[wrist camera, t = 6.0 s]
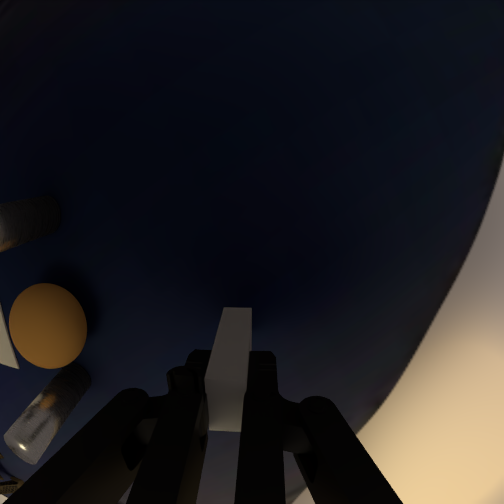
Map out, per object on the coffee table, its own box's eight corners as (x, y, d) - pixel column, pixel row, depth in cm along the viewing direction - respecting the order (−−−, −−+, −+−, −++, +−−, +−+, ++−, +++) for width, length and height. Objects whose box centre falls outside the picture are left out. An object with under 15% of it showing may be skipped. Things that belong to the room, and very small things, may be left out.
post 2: (60, 360, 21) (-3, 429, 12) (86, 365, 21) (26, 441, 12) (68, 386, 21) (14, 456, 13) (94, 391, 21) (42, 469, 12)
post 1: (32, 197, 18) (-68, 218, 9) (59, 194, 18) (-45, 215, 9) (35, 234, 18) (-61, 271, 10) (62, 233, 18) (-37, 274, 9)
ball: (-14, 292, 14) (32, 305, 13) (44, 270, 20) (96, 277, 18) (8, 369, 15) (58, 394, 14) (57, 339, 21) (109, 354, 19)
